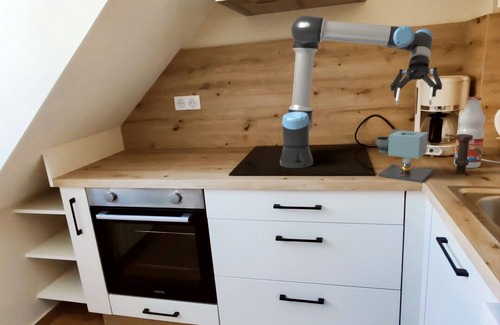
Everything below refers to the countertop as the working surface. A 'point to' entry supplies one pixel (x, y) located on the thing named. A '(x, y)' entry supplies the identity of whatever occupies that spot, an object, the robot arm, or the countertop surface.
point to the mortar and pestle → (383, 143)
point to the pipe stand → (406, 172)
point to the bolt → (462, 153)
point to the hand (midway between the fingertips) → (413, 102)
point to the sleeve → (407, 144)
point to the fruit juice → (472, 131)
